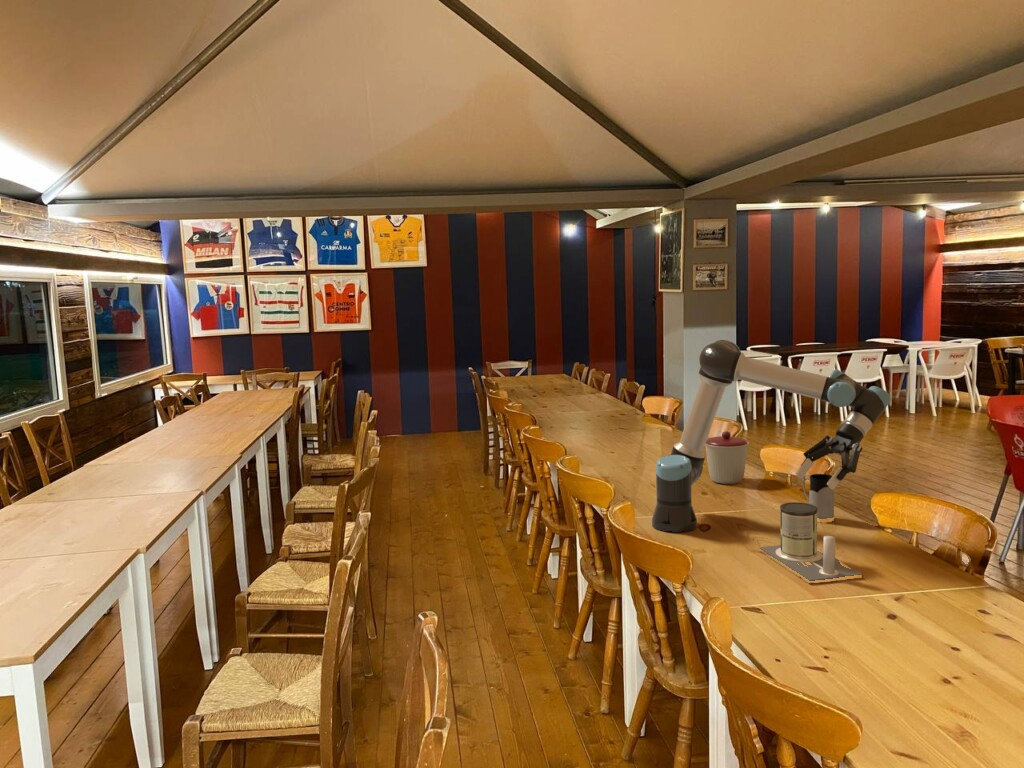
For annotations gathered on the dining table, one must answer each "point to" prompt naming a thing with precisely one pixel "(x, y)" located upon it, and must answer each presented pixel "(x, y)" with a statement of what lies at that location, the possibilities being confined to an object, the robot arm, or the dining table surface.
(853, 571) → the pegged base plate
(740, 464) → the canister
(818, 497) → the grey and black mug
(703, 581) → the dining table surface
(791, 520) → the coffee can
